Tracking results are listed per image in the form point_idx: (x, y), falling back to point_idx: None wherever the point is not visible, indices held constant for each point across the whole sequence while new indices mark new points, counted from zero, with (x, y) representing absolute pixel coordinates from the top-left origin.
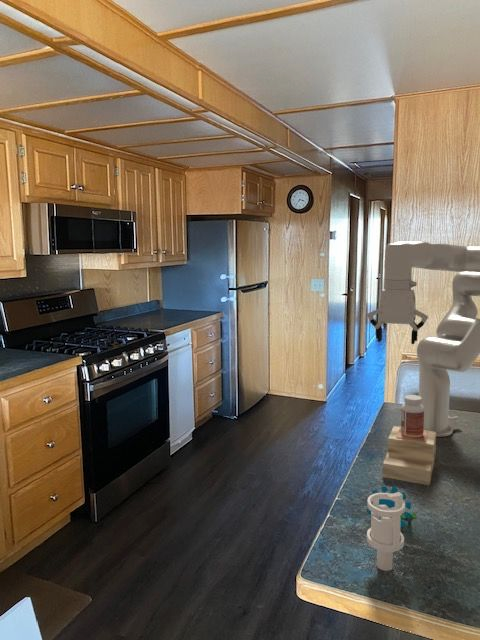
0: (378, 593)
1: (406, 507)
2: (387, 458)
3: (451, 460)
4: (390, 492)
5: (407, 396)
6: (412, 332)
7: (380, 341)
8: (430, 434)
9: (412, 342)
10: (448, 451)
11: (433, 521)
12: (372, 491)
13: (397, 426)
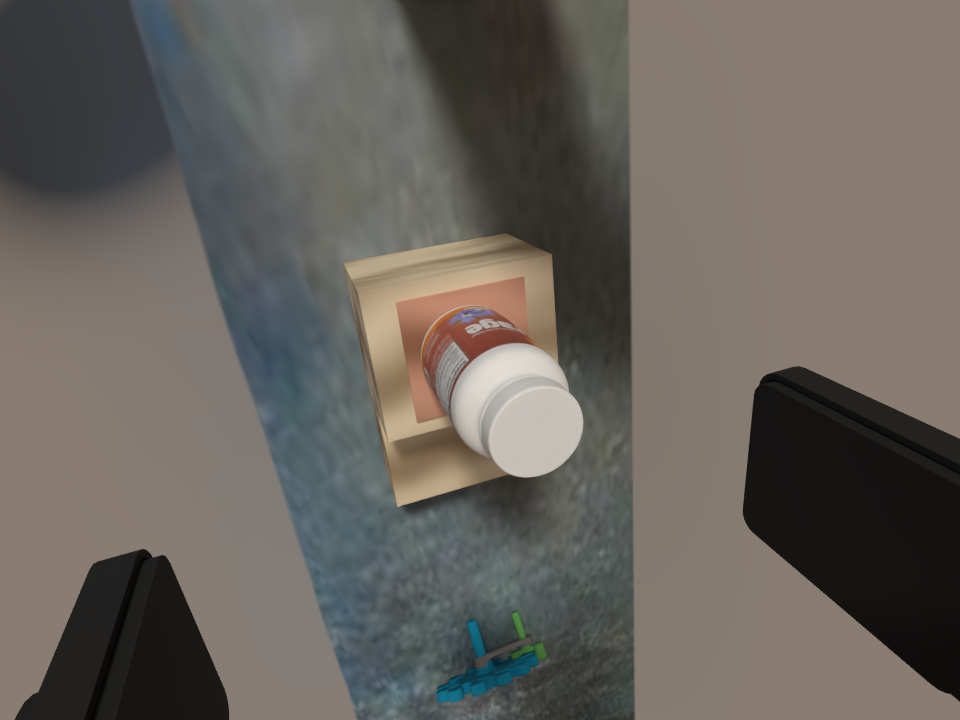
0: None
1: (525, 657)
2: (398, 467)
3: (560, 226)
4: (495, 685)
5: (505, 438)
6: (943, 682)
7: (221, 684)
8: (534, 301)
9: (776, 540)
10: (541, 144)
11: (558, 577)
12: (450, 701)
13: (377, 289)
